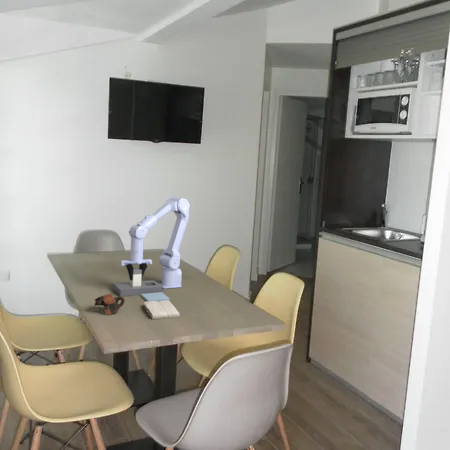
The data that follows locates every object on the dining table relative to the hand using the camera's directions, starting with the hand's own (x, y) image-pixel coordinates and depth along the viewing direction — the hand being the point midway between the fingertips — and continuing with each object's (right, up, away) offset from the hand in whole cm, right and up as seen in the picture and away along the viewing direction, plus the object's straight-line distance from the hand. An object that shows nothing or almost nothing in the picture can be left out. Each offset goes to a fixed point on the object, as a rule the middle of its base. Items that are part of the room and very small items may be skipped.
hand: (135, 279), depth 231 cm
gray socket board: (+1, -6, +1) cm, 6 cm away
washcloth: (+15, -11, -26) cm, 32 cm away
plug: (0, -4, +1) cm, 4 cm away
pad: (+10, -8, -8) cm, 15 cm away
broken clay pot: (-6, -10, -29) cm, 31 cm away
